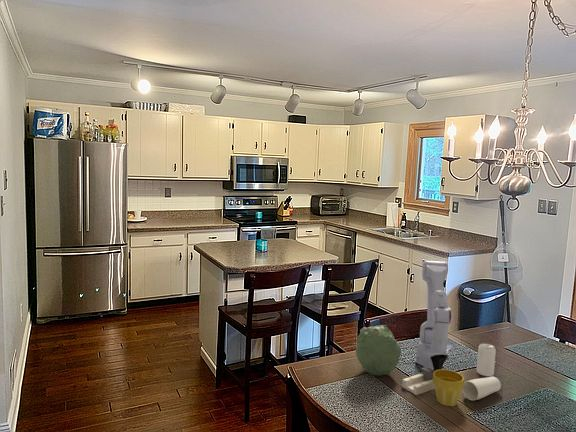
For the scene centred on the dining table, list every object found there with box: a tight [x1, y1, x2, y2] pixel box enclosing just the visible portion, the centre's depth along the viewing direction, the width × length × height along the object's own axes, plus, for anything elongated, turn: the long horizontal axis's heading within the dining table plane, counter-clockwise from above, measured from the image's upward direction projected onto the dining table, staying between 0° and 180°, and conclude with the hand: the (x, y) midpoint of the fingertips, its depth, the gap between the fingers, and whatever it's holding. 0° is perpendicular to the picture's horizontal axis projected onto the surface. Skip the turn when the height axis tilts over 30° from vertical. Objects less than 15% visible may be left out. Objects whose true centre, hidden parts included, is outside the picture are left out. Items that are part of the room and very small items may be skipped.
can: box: [476, 342, 496, 378], centre depth 180 cm, size 6×6×12 cm
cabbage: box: [355, 324, 402, 377], centre depth 176 cm, size 16×19×20 cm
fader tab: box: [420, 366, 434, 381], centre depth 169 cm, size 5×3×4 cm, turn 32°
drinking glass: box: [462, 375, 502, 402], centre depth 163 cm, size 7×7×15 cm
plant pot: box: [433, 368, 465, 407], centre depth 157 cm, size 10×10×10 cm
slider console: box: [401, 372, 435, 396], centre depth 168 cm, size 7×15×3 cm, turn 123°
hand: (437, 371), depth 172 cm, fingers closed
